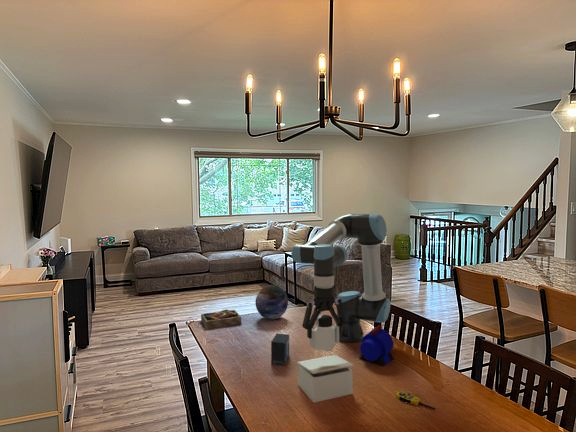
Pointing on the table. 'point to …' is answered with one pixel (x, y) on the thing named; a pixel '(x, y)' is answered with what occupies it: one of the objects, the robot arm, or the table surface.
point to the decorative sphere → (271, 302)
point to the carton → (325, 383)
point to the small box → (280, 349)
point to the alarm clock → (377, 346)
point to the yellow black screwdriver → (410, 399)
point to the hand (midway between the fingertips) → (324, 344)
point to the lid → (324, 364)
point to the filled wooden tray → (220, 321)
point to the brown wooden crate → (221, 315)
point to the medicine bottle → (324, 334)
